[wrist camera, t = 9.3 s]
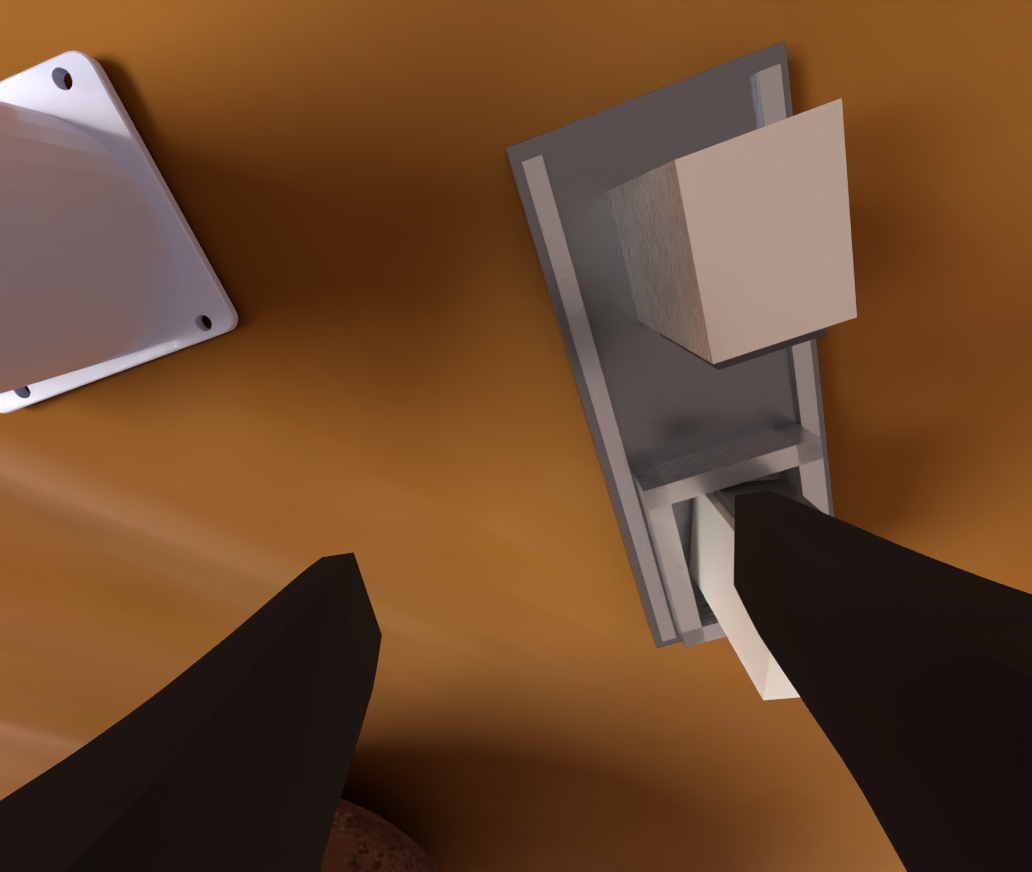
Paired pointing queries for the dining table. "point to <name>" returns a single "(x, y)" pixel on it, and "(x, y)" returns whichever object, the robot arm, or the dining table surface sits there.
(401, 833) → the pottery
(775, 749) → the dining table surface
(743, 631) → the block
